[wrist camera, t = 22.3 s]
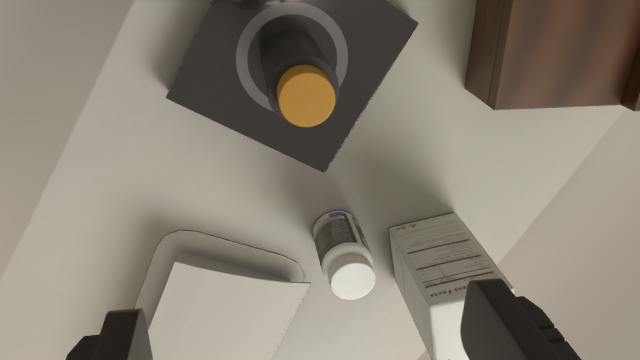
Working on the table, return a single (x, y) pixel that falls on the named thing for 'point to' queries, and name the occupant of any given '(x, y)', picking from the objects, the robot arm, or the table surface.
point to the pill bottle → (344, 255)
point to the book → (218, 299)
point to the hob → (248, 78)
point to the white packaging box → (439, 278)
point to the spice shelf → (555, 53)
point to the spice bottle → (299, 79)
